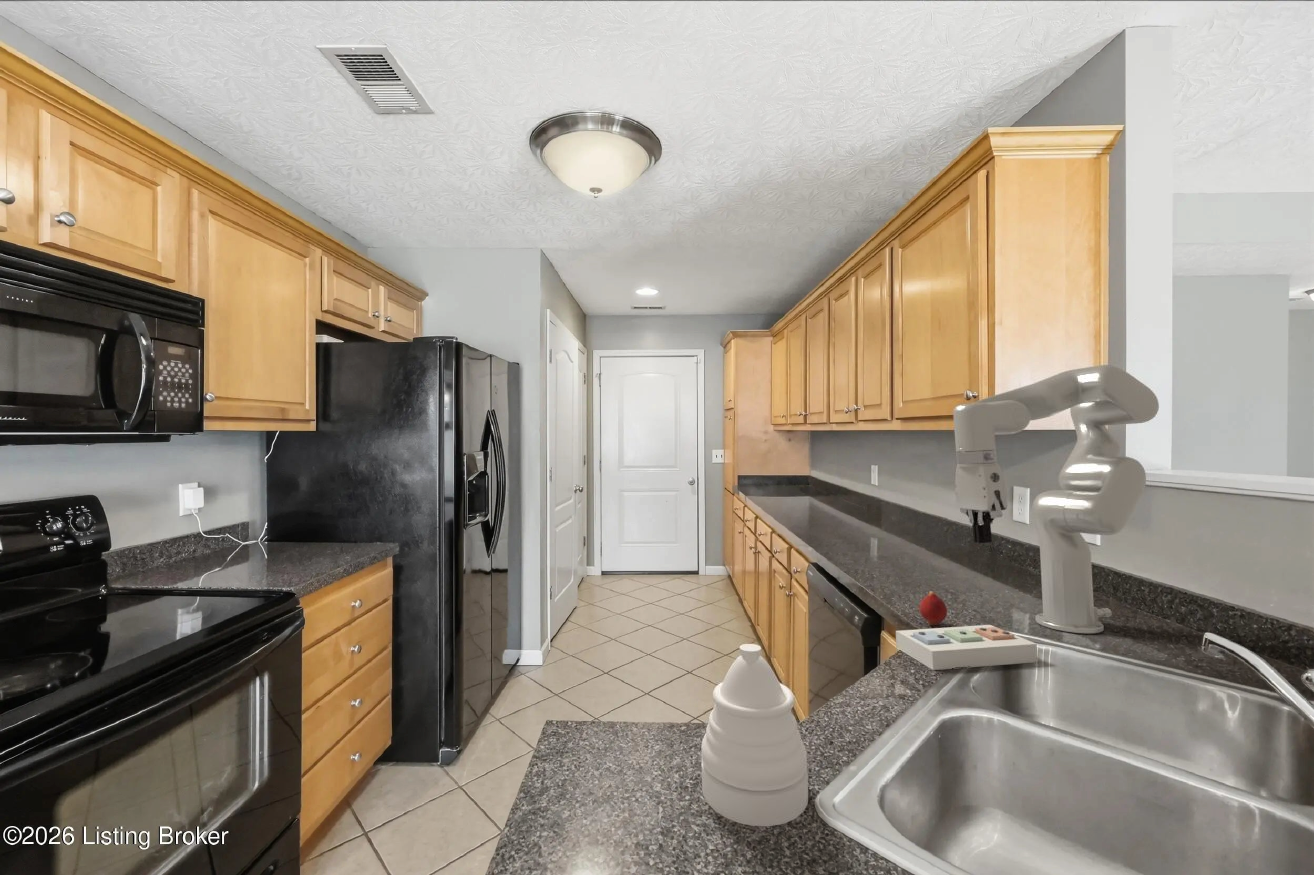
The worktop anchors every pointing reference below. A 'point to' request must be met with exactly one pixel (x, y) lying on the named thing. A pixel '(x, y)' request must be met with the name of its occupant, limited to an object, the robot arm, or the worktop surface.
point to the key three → (994, 633)
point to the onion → (933, 609)
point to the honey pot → (754, 747)
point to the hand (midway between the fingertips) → (982, 542)
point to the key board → (966, 650)
